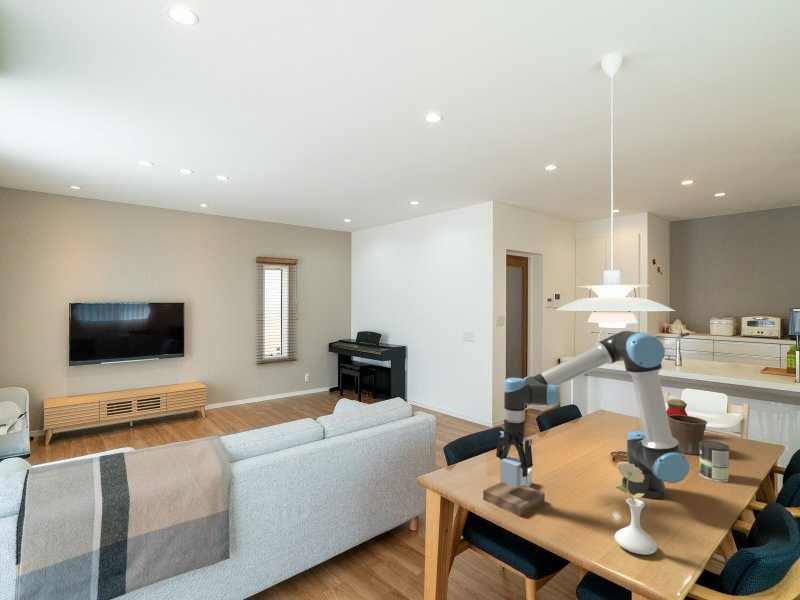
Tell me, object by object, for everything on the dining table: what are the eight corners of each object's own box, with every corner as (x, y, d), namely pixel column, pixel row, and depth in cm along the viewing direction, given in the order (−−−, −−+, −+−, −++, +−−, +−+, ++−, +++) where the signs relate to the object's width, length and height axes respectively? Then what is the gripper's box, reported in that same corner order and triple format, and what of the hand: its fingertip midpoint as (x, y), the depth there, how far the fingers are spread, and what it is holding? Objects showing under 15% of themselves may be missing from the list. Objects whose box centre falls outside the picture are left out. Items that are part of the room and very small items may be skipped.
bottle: (686, 433, 237) (687, 398, 237) (698, 440, 224) (698, 404, 224) (656, 430, 240) (656, 396, 240) (665, 438, 227) (665, 402, 227)
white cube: (531, 483, 170) (531, 469, 170) (527, 489, 165) (527, 474, 165) (517, 479, 173) (517, 465, 173) (512, 485, 168) (512, 470, 168)
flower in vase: (666, 555, 122) (667, 471, 122) (636, 561, 119) (636, 475, 119) (630, 531, 135) (631, 455, 135) (601, 536, 132) (602, 458, 132)
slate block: (527, 482, 154) (527, 461, 154) (516, 487, 150) (516, 465, 150) (511, 476, 160) (511, 455, 160) (500, 481, 155) (500, 460, 155)
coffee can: (696, 476, 177) (697, 444, 177) (701, 470, 185) (701, 438, 185) (727, 484, 170) (727, 450, 170) (730, 477, 177) (731, 444, 177)
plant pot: (696, 446, 215) (696, 415, 215) (714, 457, 199) (714, 424, 199) (662, 444, 218) (662, 413, 218) (677, 455, 202) (677, 422, 202)
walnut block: (544, 503, 154) (544, 493, 154) (520, 518, 143) (520, 506, 143) (508, 488, 166) (508, 478, 166) (483, 501, 155) (483, 490, 155)
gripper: (544, 424, 149) (543, 487, 150) (498, 412, 165) (497, 469, 165) (532, 428, 145) (532, 493, 145) (486, 415, 160) (486, 475, 160)
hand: (513, 480), depth 155 cm, fingers closed on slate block, 7 cm apart
